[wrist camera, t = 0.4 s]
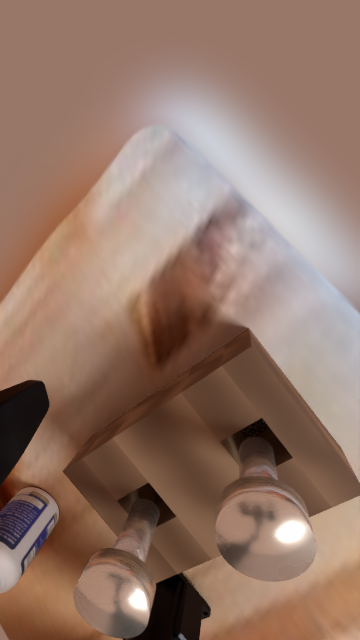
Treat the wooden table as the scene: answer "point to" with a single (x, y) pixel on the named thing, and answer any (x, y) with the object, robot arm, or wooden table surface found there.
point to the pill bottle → (24, 532)
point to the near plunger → (263, 519)
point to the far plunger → (121, 578)
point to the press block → (207, 452)
